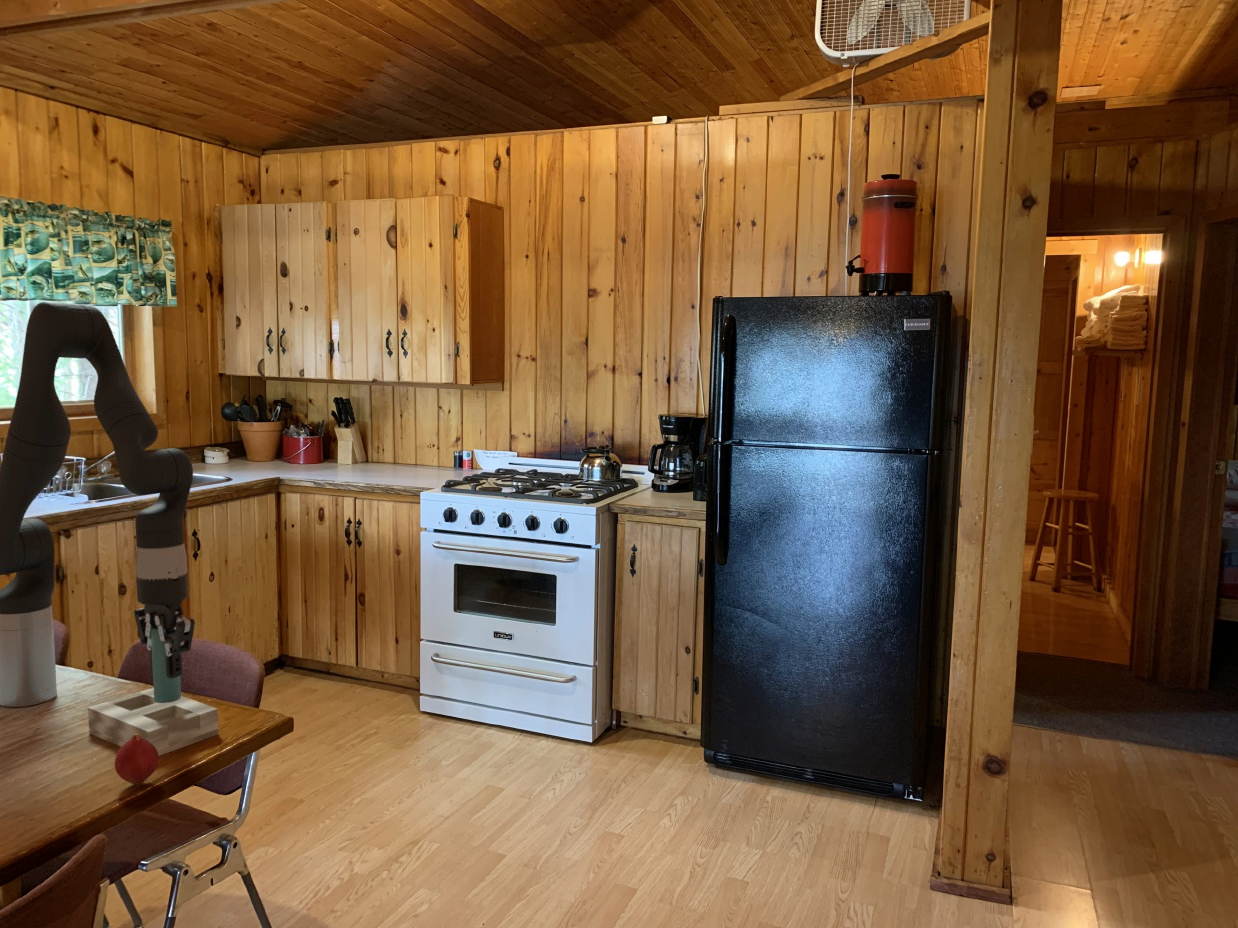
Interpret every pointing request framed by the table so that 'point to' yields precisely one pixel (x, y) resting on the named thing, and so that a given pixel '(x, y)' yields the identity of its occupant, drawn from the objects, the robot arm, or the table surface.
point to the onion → (136, 760)
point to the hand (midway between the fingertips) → (166, 673)
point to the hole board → (153, 721)
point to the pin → (163, 672)
